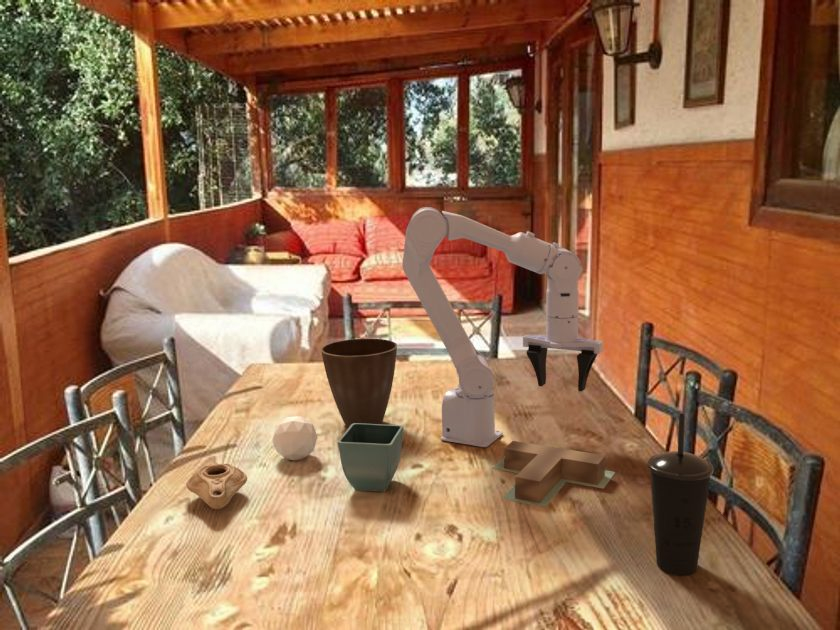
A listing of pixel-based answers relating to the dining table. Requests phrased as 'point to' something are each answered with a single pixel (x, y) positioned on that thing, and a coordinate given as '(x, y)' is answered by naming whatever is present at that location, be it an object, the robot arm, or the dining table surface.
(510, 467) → the t block
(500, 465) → the t mat
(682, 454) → the drinking cup
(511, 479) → the dining table surface
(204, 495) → the pottery oil lamp
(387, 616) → the dining table surface
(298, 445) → the geometric ball
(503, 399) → the dining table surface
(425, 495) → the dining table surface
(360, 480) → the flower pot
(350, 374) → the plant pot
